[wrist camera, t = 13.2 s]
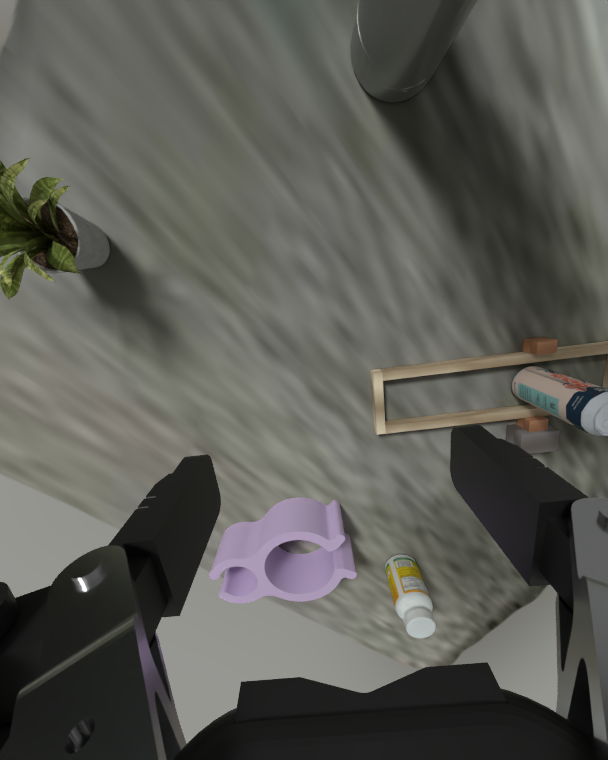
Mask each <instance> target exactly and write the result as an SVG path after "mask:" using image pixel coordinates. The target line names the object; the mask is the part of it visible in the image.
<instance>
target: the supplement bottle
mask: <svg viewBox="0 0 608 760" xmlns="http://www.w3.org/2000/svg"><path fill="white" fill-rule="evenodd" d="M385 572H386V576H387V580H388V583H389V587H390V590H391V594H392V598H393V601H394V605H395V609H396V612H397V614H398V615H399V617H400V618H401V619H403V620H404V624H405V627H406V630H407V632H408V634H409V635H411V636H412V637H415V638H425V637H428V636H430V635H431V634H433V633H434V631H435V628H436V625H435V622H434V619H433V616H432V614H431V613H432V609H433V605H432V601H431V598H430V596H429V593H428V591H427V588H426V586H425V584H424V581H423V579H422V576H421V574H420V571H419V568H418V566H417V564H416V562H415V560H414V559H413V558H412V557H410V556H408V555H404V554H398V555H395V556H393V557H391V558H390V559H389V560H388V561H387V562H386V565H385Z"/></svg>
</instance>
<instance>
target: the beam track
mask: <svg viewBox="0 0 608 760" xmlns="http://www.w3.org/2000/svg"><path fill="white" fill-rule="evenodd" d="M557 343H558V340H556V339H551V338H546V337H537V338H529V339H523V349H522V351H523V352H515V353H506V354H498V355H490V356H482V357H474V358H466V359H458V360H449V361H441V362H433V363H425V364H417V365H409V366H401V367H392V368H384V369H376V370H371V383H372V398H373V413H374V428H375V432H376V434H377V435H379V434H387V433H396V432H405V431H414V430H422V429H431V428H440V427H449V426H458V425H466V424H475V423H484V422H493V421H501V420H510V419H517V421H516V424H513V425H507V431H506V441H507V442H510V443H512V444H515V445H517V446H519V447H520V448H522V449H523V450H525V451H526V452H527V453H529V454H533V453H542V452H551V451H558V445H559V438H560V430H558V429H556V428H555V427H553V426H551V425H549V424H548V420H549V419H547V418H545V417H544V416H545V415H551V414H549V413H547V412H545V411H543V410H541V409H539V408H537V407H535V406H533V405H531V404H527V405H518V406H510V407H501V408H492V409H484V410H475V411H467V412H458V413H449V414H441V415H432V416H423V417H415V418H406V419H397V420H389V421H385V411H384V393H383V381H385V380H393V379H402V378H410V377H418V376H426V375H435V374H443V373H451V372H459V371H468V370H476V369H484V368H492V367H501V366H509V365H517V364H525V363H534V362H542V361H550V360H558V359H567V358H575V357H583V356H591V355H600V354H608V341H604V342H596V343H588V344H580V345H572V346H563V347H557ZM602 387H604V388H607V389H608V355H607V361H606V367H605V373H604V379H603V385H602Z"/></svg>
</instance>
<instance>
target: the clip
mask: <svg viewBox="0 0 608 760" xmlns="http://www.w3.org/2000/svg"><path fill="white" fill-rule="evenodd" d="M292 540H306V541H311V542H314V543H316V544H318V545H320V546H322V547H321V548H320V549H318V550H316V551H314V552H311V553H307V554H293V553H289V552H287V551H284V550H283V549H281V548H280V547H278V545H280V544H282V543H284V542H287V541H292ZM225 569H226V572H225V575H224V579H223V582H222V586H221V589H220V593H219V597H220V598H222V599H223V600H225V601H228V602H232V603H248V602H252V601H255V600H257V599H258V598H260V597H263V596H276V597H279V598H282V599H285V600H290V601H310V600H314V599H318V598H320V597H323V596H325V595H326V594H328V593H330V592H331V591H332V590H333V589H334V588H335V587H336V586H337V585H338V584H339V582H340V581H341V579H342V578H349V579H354V578H355V577H356V575H357V574H356V568H355V563H354V557H353V552H352V546H351V541H350V536H349V534H346V533H344V527H343V521H342V515H341V509H340V503H339V502H338V501H336V500H334V501H332V502H331V503H330V504H329V505H324V504H322V503H321V502H319V501H316V500H313V499H309V498H291V499H287V500H284V501H281V502H279V503H277V504H276V505H274V506H273V507H272V508H271V509H270V510H269V511H268V512H267V513H266V515H265V516H264V517H263V518H262V519H261V520H259V521H256V522H240V523H236V524H234V525H232V526H230V527H229V528H228V529H227V530H226V531H225V532H224V534H223V536H222V539H221V542H220V545H219V548H218V551H217V554H216V557H215V560H214V563H213V566H212V569H211V572H210V575H209V577H210V579H213V580H217V579H219V576H220V574H221V573H222V572H223V571H224V570H225Z"/></svg>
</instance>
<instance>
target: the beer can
mask: <svg viewBox="0 0 608 760" xmlns="http://www.w3.org/2000/svg"><path fill="white" fill-rule="evenodd" d="M512 391H513V393H514V395H515V396H516V397H518V398H519V399H521V400H523V401H525V402H527V403H529V404H531V405H533V406H535V407H537V408H539V409H541V410H543V411H545V412H547V413H549V414H551V415H553V416H555V417H557V418H559V419H561V420H563V421H565V422H567V423H569V424H571V425H573V426H575V427H577V428H579V429H581V430H583V431H585V432H587V433H589V434H592V435H597V436H608V389H607V388H604V387H601V386H598V385H594V384H591V383H588V382H585V381H582V380H579V379H576V378H573V377H569V376H566V375H563V374H560V373H557V372H554V371H551V370H548V369H544V368H541V367H538V366H530V367H526V368H524V369H522V370H521V371H520V372H518V373H517V375H516V376H515V377H514V379H513V381H512Z"/></svg>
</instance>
